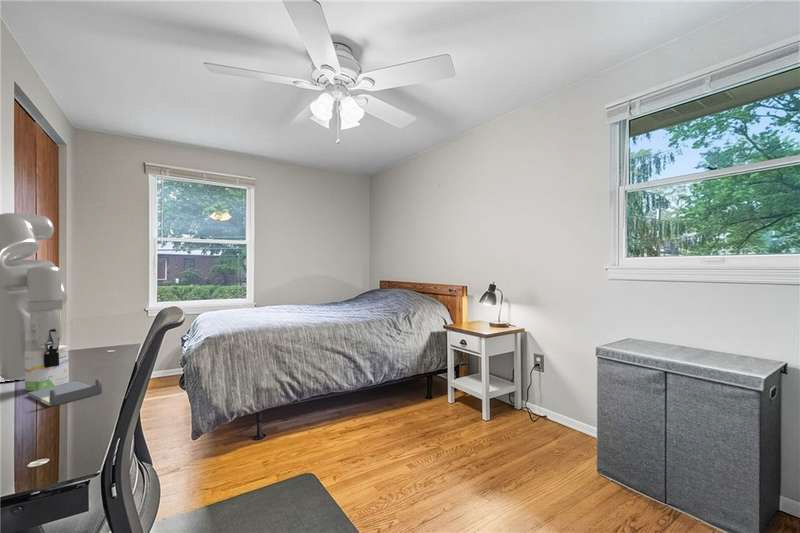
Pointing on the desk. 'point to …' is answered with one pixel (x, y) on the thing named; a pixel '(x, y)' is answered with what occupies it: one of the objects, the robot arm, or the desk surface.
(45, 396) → the tray
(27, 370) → the ink box
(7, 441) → the desk surface
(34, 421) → the desk surface
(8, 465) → the desk surface
